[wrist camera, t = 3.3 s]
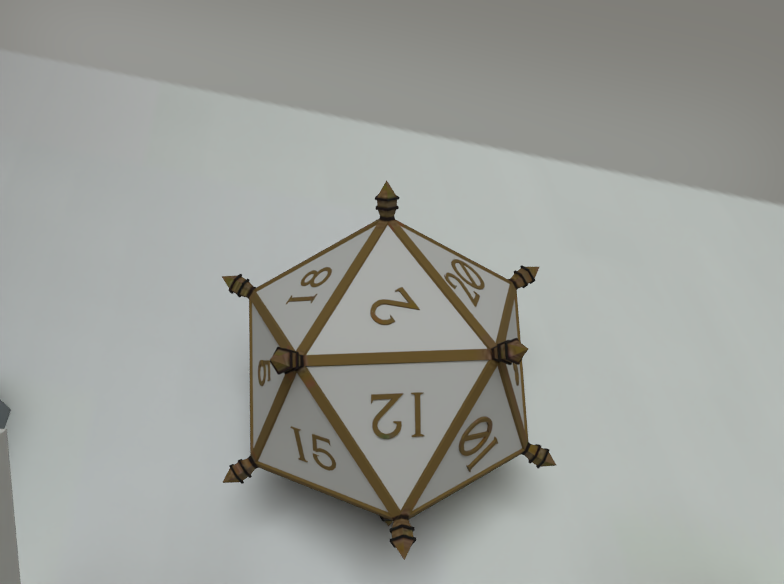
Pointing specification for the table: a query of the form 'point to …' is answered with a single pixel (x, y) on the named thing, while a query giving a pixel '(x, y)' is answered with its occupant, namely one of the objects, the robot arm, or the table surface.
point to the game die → (386, 372)
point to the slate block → (3, 414)
